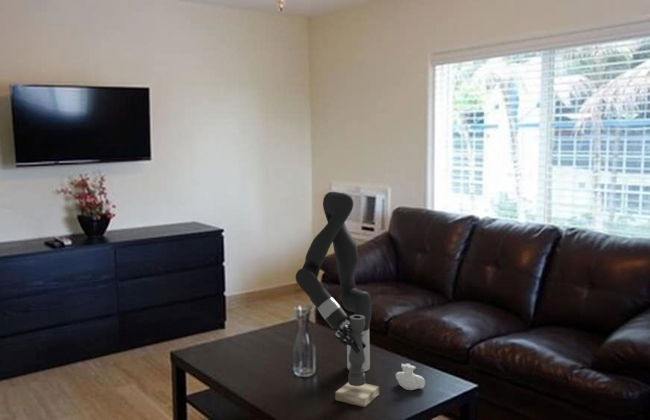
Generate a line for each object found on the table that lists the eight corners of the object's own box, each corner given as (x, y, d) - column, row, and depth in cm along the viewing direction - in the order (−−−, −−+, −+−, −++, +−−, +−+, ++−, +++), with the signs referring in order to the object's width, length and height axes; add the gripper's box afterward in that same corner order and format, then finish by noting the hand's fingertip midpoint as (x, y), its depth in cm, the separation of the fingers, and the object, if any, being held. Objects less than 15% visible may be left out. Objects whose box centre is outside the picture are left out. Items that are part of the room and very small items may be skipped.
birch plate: (350, 387, 228) (350, 380, 228) (379, 394, 222) (379, 386, 222) (335, 399, 218) (335, 392, 218) (364, 407, 212) (364, 399, 212)
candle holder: (351, 387, 215) (351, 320, 212) (346, 380, 221) (346, 315, 218) (367, 384, 217) (368, 318, 214) (361, 378, 223) (362, 313, 220)
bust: (395, 390, 230) (387, 375, 223) (401, 373, 235) (393, 357, 228) (424, 397, 224) (416, 381, 217) (430, 379, 228) (423, 363, 221)
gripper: (335, 313, 229) (363, 349, 224) (316, 323, 216) (346, 362, 212) (347, 301, 225) (376, 338, 221) (329, 311, 213) (359, 350, 209)
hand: (361, 349), depth 216 cm, fingers closed on candle holder, 4 cm apart
